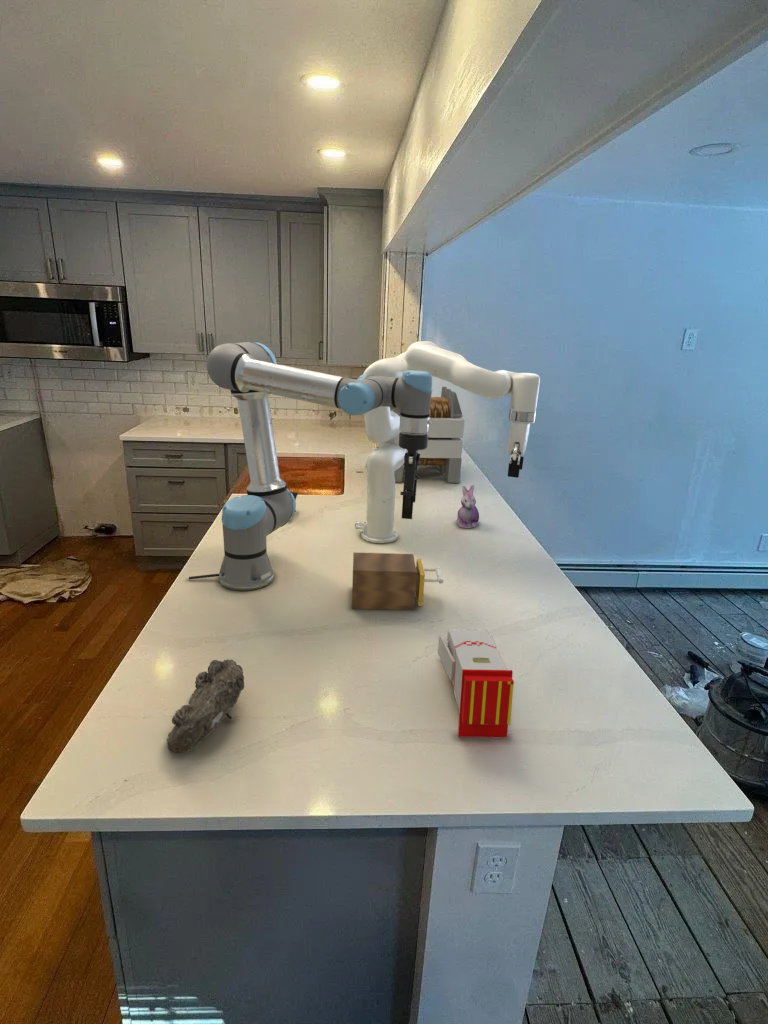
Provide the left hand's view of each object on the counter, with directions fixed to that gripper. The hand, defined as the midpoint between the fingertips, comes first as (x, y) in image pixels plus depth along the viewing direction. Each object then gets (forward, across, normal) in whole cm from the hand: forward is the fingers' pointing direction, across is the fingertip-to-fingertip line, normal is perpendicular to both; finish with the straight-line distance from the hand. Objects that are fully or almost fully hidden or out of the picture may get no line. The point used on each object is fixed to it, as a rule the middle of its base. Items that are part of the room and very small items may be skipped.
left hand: (408, 509), depth 154 cm
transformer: (+24, +121, +2) cm, 123 cm away
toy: (+24, -44, -17) cm, 53 cm away
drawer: (+23, -7, 0) cm, 24 cm away
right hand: (-6, +25, -30) cm, 39 cm away
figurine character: (+24, +49, +48) cm, 72 cm away
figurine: (+24, +55, -20) cm, 63 cm away
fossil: (+24, -60, +32) cm, 72 cm away
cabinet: (+24, -8, +5) cm, 25 cm away
